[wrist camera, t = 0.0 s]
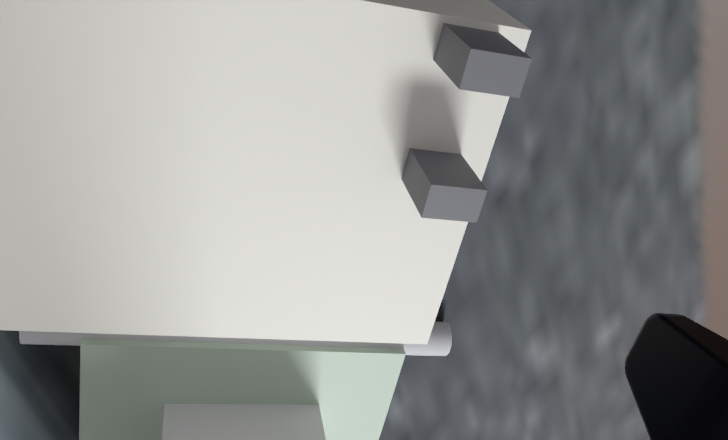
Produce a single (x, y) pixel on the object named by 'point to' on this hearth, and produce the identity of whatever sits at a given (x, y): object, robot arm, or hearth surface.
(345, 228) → the white box base
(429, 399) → the hearth surface
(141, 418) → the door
